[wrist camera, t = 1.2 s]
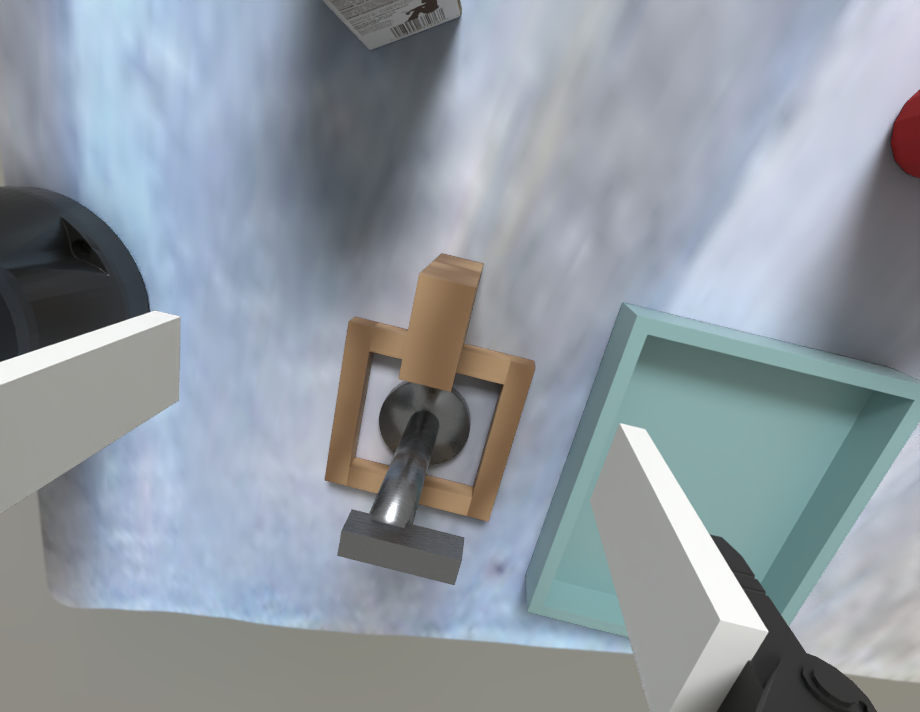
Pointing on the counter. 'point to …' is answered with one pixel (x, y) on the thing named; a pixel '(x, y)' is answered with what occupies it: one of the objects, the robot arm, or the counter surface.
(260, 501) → the counter surface
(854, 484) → the tray
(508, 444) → the ring
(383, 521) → the grey metal stand
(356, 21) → the coffee box
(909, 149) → the plastic cup
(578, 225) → the counter surface
